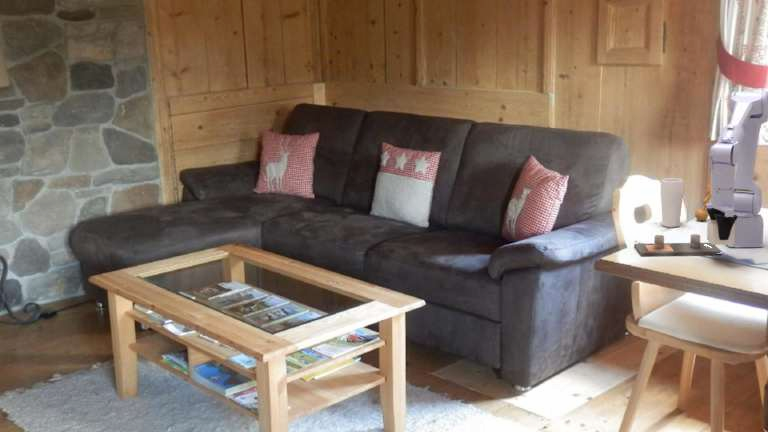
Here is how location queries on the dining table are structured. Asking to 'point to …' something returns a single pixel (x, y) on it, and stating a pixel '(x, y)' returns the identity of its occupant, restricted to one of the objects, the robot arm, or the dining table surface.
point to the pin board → (676, 248)
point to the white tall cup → (671, 201)
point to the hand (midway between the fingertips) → (720, 236)
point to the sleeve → (714, 235)
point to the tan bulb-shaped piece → (702, 213)
